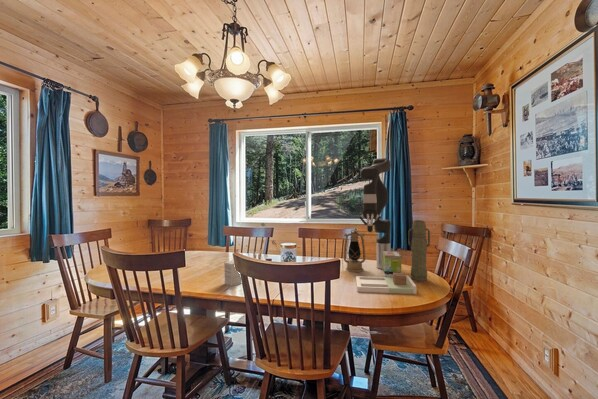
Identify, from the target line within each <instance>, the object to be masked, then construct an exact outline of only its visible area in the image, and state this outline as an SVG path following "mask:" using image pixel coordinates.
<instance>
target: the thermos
mask: <svg viewBox="0 0 598 399" xmlns="http://www.w3.org/2000/svg"><path fill="white" fill-rule="evenodd" d="M407 232H408V233H407V236H408V239H407V240H408V241H407V242H408V246H410V250H411V267H410V276H411V277H410V279H411V280H412V281H413V282H418V283H419V282H422V283H424V282H427V280H428V279H427V277H428V268H427V251H428V247H430V246H431V230H430V229H429V228H427V225H426V222H425V221H424V220H420V219H419V220H414V221H413V222H412V226H411V228H409V229H408V231H407ZM411 234H412V236H411Z"/></svg>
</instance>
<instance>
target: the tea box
mask: <svg viewBox="0 0 598 399" xmlns="http://www.w3.org/2000/svg"><path fill="white" fill-rule="evenodd" d="M402 259H403V258H402V254H401V253H400V252H399V251H391V250H390V251H383V269H382V276H383V277H388V278H393V273H402Z"/></svg>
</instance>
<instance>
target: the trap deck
mask: <svg viewBox="0 0 598 399" xmlns="http://www.w3.org/2000/svg"><path fill="white" fill-rule="evenodd" d="M414 282H415V281H414V280H412V279H411V277H410V276H409V275H406V285H394V282H393V278H388V277H384V276H383V277H382V276H360V275H359V276H358V275H357V276H355V283H356V290H357V292H359V293H361V292H362V293H382V294H383V293H384V294H386V293H387V294H403V295H404V294H405V295H407V294H409V295H417V294H418V293H417V285H416V283H414Z"/></svg>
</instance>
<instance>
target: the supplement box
mask: <svg viewBox="0 0 598 399" xmlns="http://www.w3.org/2000/svg"><path fill="white" fill-rule="evenodd" d="M223 268H224V284H225V285H226V286H230V287H234V286H237V285H240V284H242V283H241V277H240V274H239V273H238V272H237V271H236V270H235V267H234V262H233V260H228V261H224V267H223Z"/></svg>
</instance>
